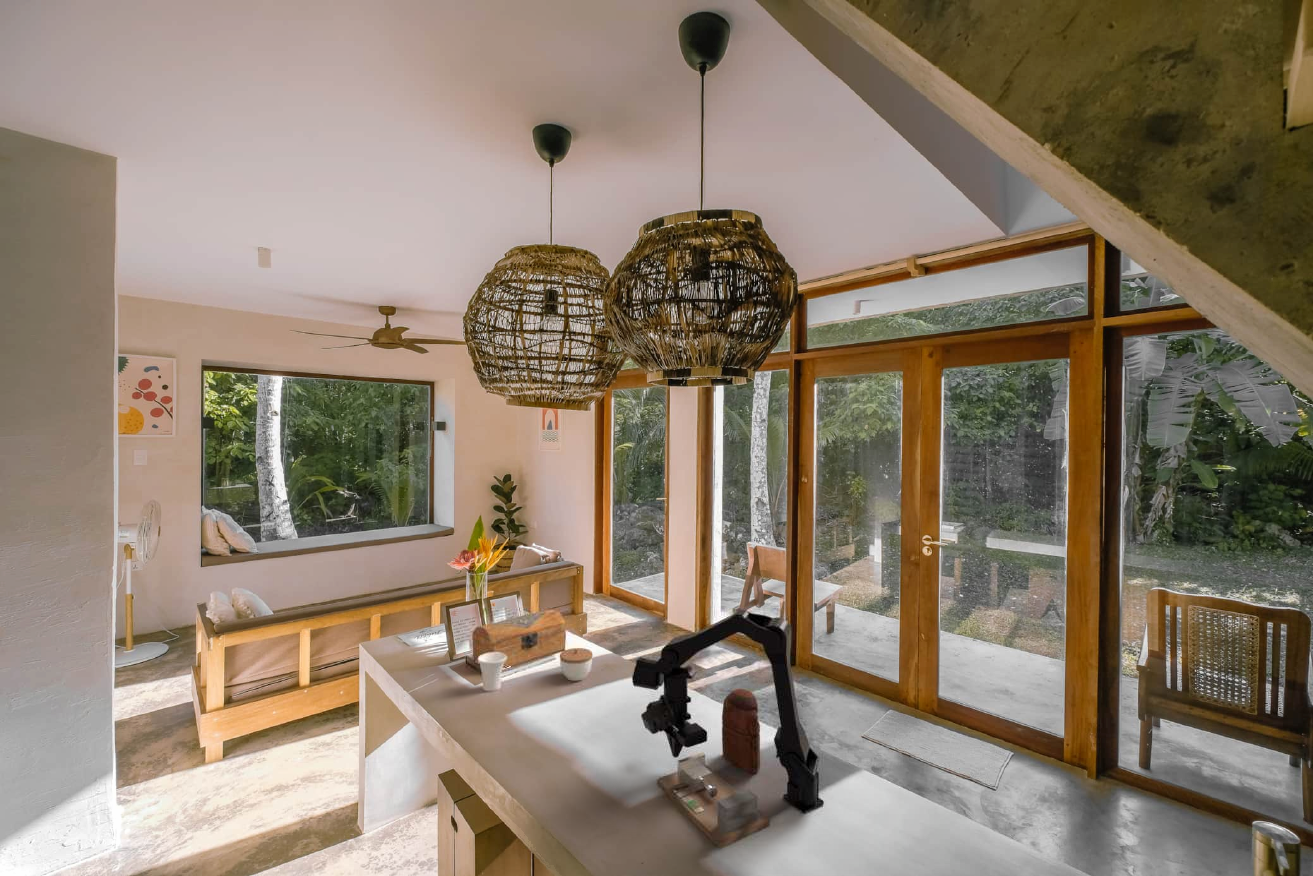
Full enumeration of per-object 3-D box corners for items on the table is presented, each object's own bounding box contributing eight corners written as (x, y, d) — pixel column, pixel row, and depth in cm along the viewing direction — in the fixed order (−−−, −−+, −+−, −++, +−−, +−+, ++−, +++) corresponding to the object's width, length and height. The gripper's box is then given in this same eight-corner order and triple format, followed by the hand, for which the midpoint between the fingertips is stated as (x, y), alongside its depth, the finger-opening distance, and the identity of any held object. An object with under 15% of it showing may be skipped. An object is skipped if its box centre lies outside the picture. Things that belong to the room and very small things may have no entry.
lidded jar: (553, 676, 197) (553, 648, 197) (580, 667, 204) (580, 640, 204) (571, 687, 189) (571, 657, 189) (598, 677, 197) (598, 649, 196)
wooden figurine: (769, 767, 145) (769, 694, 145) (753, 777, 141) (753, 702, 140) (732, 747, 154) (732, 679, 153) (715, 757, 150) (716, 686, 149)
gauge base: (703, 768, 144) (703, 742, 144) (769, 826, 124) (769, 795, 124) (657, 785, 138) (657, 757, 138) (719, 848, 117) (719, 816, 117)
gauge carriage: (702, 773, 139) (702, 752, 139) (726, 794, 132) (726, 772, 131) (668, 785, 135) (668, 763, 135) (691, 808, 127) (691, 785, 127)
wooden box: (493, 675, 199) (493, 634, 198) (471, 660, 211) (471, 622, 210) (568, 652, 219) (568, 614, 219) (544, 640, 231) (544, 604, 231)
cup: (500, 694, 184) (500, 662, 184) (472, 692, 185) (472, 660, 185) (512, 682, 192) (512, 652, 192) (485, 680, 194) (485, 650, 194)
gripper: (627, 685, 147) (627, 747, 147) (667, 717, 131) (667, 787, 131) (666, 675, 152) (666, 736, 153) (708, 705, 136) (708, 772, 137)
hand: (675, 756), depth 143 cm, fingers closed
